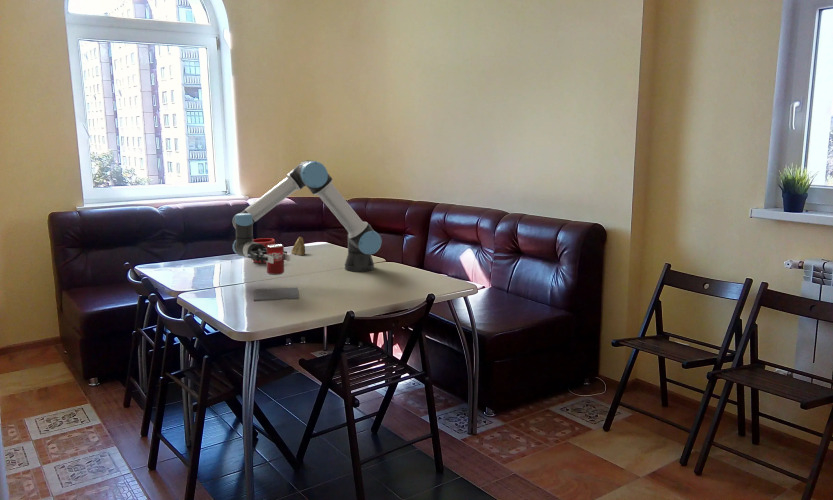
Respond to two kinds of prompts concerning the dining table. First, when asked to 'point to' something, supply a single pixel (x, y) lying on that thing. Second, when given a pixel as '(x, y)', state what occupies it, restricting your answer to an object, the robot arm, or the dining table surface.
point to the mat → (276, 294)
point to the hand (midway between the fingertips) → (281, 259)
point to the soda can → (275, 259)
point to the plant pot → (264, 242)
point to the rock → (299, 247)
